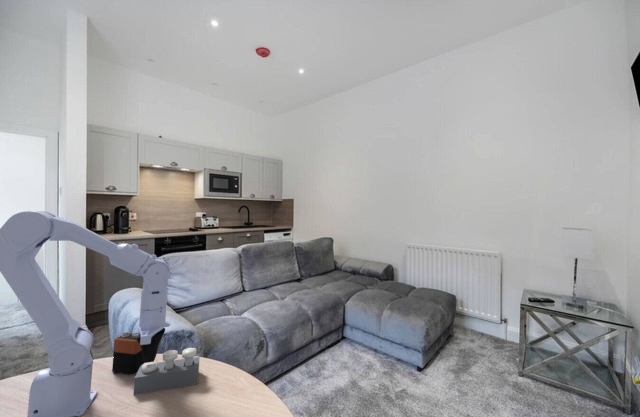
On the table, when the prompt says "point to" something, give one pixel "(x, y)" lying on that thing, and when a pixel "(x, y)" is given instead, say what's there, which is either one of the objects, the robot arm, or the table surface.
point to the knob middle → (170, 358)
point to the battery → (127, 354)
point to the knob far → (189, 356)
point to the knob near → (149, 367)
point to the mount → (167, 377)
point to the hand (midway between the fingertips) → (149, 361)
